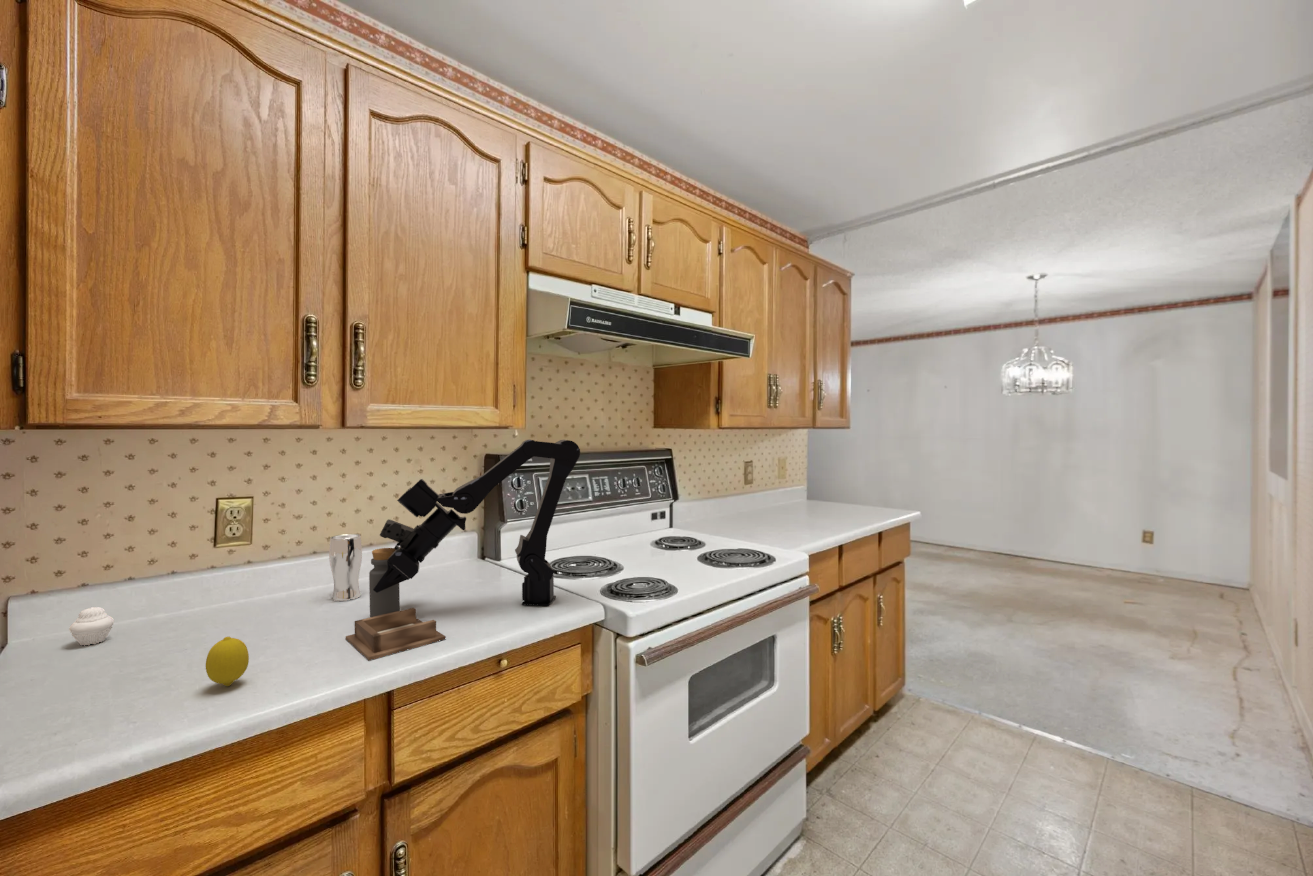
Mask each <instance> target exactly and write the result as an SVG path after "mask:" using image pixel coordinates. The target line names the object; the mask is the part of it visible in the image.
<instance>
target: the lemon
mask: <svg viewBox="0 0 1313 876" xmlns="http://www.w3.org/2000/svg"><path fill="white" fill-rule="evenodd" d="M249 656H250V654H249V651H248V646H247V645H246V644H245V642H243V641H242V640H241V639H239V638H235V637H231V636H225V637H224V638H223V639H221V640H219V641H217V642H216V643H214V645H213V646H211V648H210V649H209V651H208V653H207V656H206V658H205V670H206V671H205V672H206V674H207V677H208V678H209V680H211V681H212V682H213V683H215V684H219V685H223V686H224V687H229V686H231V685H232V684H233V683H234V682H235V681H237V680H238V679H240V678H241V677H242V676H243V675H244V674H245V672H246V670H247V669H248V666H249V659H250V657H249Z"/></svg>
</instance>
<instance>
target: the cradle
mask: <svg viewBox="0 0 1313 876" xmlns="http://www.w3.org/2000/svg"><path fill="white" fill-rule="evenodd" d="M445 638H447V637H446V635H444V634H443V633H441V632H440V631H438V630H437V621H436V620H435V619H431V620H426V621H422V620H420V619H419V618H417V609H416V607H410V608H407V609H402V610H401V609H400V611H397V612H392V613H388V614H383V615H379V616H375V617H370V616H369V617H367V618H363V619H357V620H354V633H353V634H348V635H345V640H346V641H347V640H348V641H347V642H348V643H349V642H350V643H351V644H352V645H353V646H354V647H353V646H352V645H351V644H350V643H349V644H350V645H351V646H352V647H353V648H354V649H355V650H356V651H358V652H359V651H360V652H359V653H360V654H361V653H362V654H361V655H362V656H363V655H364V656H365V657H366V658H367V659H368V660H367V659H366V658H365V657H364V656H363V657H364V658H365V659H366V660H367V661H369V660H370V661H372V660H371V659H373V660H377V659H380V658H383V656H384V657H387V656H386V655H388V656H391V655H393V654H392V653H395V654H398V653H400V652H399V651H402V652H405V650H406V651H408V650H407V649H409V650H412V648H413V649H415V648H420V647H423V646H427V645H430V643H431V644H433V643H432V642H434V643H438V642H440V641H439V640H442V641H444V640H443V639H445ZM445 640H446V639H445ZM437 641H438V642H437ZM426 644H427V645H426ZM397 652H398V653H397ZM390 654H391V655H390ZM379 657H380V658H379Z"/></svg>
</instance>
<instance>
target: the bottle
mask: <svg viewBox="0 0 1313 876" xmlns="http://www.w3.org/2000/svg"><path fill="white" fill-rule="evenodd" d="M395 550H396V549H395V548H394V547H381V548H377V549H373V550H372V551H371V554H372V558H371V559H370V564H371V565H372V566H373V568H372V569H370V571H369V572H368V574H369V576H368V580H369V581H368V583H369V588H368V589H369V590H368V591H369V618H370V617H375V616H379V615H383V614H388V613H392V612H397V611H401V608H400V606H401V605H400V603H401V601H400V598H401V597H400V583H398V584H396V585H393V586H391V587H389V588H387V589H384V590H382V591H380V592H378V593H376V592H375V591H374V590H373V589H374V587H375V586H376V584H377V583H378V582H379V580H380V579H381V577H382V576H383V575H384V573H385V572H386V570H387V569H388V566H387V560H388V558H389V557H390V556H391V555H392V553H393V552H394V551H395Z"/></svg>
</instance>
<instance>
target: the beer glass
mask: <svg viewBox="0 0 1313 876" xmlns="http://www.w3.org/2000/svg"><path fill="white" fill-rule="evenodd" d="M362 546H363V545H362V537H361V534H360V533H359V534H358V533H345V534H338V535H333V536H331V537H329V551H328V554H329V558H328V559H329V565H330V569H331V575H332V579H333V580H332V581H333V592H332V596H331V599H333V600H332V601H334V600H335V601H334V602H348V601H347V600H349V601H351V600H350V599H353V600H356V599H358V597H359V598H360V597H361V594H362V593H361V589H360V583H359V582H360V581H359V579H360V571H361V566H362V560H363V547H362ZM355 598H356V599H355Z"/></svg>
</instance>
